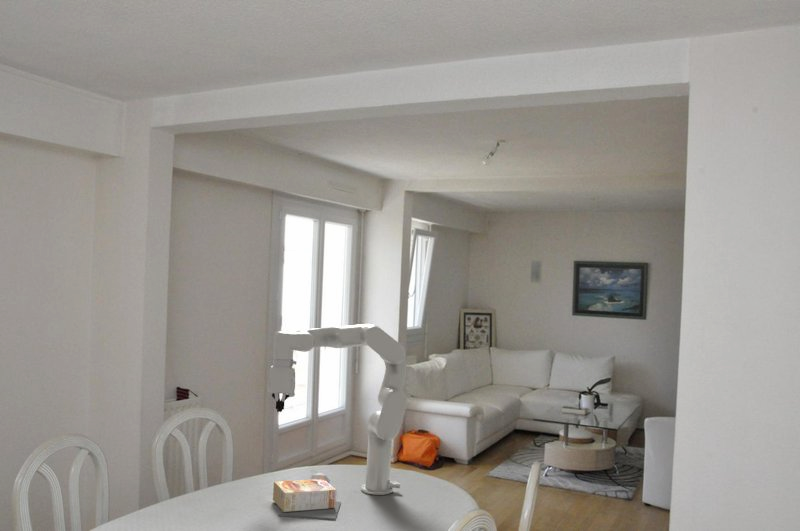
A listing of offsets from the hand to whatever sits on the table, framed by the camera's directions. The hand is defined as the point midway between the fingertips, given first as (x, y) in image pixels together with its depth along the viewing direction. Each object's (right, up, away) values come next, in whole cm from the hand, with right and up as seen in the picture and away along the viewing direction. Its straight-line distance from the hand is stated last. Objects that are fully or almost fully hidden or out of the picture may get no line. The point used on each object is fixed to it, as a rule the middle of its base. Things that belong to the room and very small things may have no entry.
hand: (279, 411), depth 271 cm
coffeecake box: (+2, -27, -17) cm, 32 cm away
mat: (+14, -32, -16) cm, 39 cm away
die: (+14, -32, +5) cm, 35 cm away
